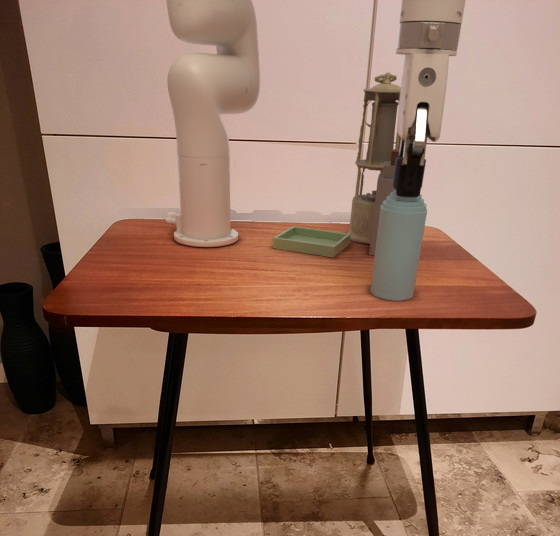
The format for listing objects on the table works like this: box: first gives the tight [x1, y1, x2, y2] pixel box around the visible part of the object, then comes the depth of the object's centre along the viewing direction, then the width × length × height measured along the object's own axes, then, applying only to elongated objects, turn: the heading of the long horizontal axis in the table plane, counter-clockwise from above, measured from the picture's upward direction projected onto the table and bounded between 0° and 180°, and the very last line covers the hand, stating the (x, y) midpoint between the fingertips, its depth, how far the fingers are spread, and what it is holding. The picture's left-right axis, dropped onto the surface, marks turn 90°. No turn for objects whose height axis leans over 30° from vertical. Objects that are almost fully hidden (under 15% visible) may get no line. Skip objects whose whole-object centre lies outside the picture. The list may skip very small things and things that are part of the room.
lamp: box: [346, 72, 401, 245], centre depth 106 cm, size 10×13×30 cm
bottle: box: [369, 188, 428, 302], centre depth 80 cm, size 7×7×19 cm
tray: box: [272, 225, 351, 258], centre depth 105 cm, size 12×10×2 cm
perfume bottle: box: [368, 148, 399, 256], centre depth 100 cm, size 7×7×18 cm
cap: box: [392, 157, 427, 189], centre depth 76 cm, size 4×4×4 cm
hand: (406, 191), depth 77 cm, fingers closed on cap, 4 cm apart
